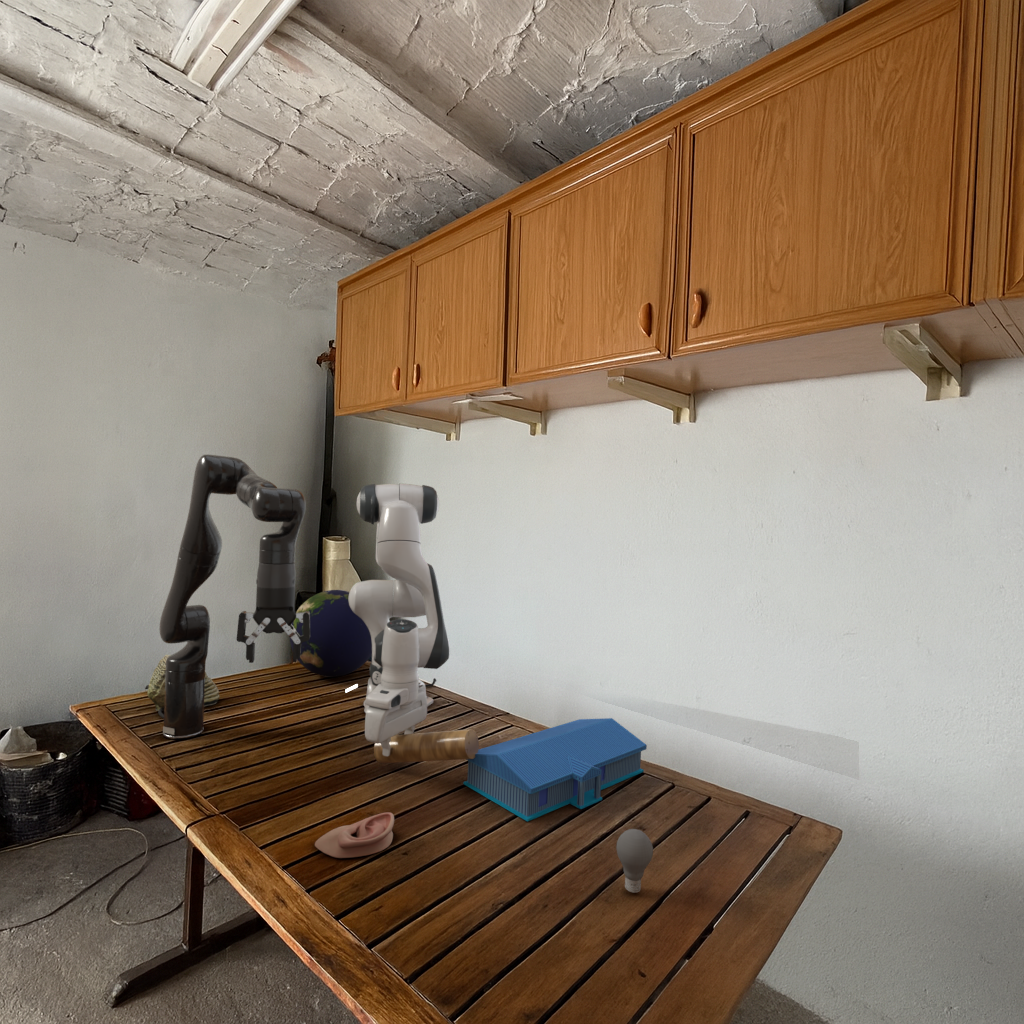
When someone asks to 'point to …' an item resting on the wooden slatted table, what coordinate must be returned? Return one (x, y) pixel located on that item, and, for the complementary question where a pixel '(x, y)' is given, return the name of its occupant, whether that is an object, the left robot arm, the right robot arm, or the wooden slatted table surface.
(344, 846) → the anatomical model
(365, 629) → the globe
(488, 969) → the wooden slatted table surface
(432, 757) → the rod
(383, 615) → the right robot arm
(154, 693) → the fossil
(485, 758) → the model building
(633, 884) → the light bulb
